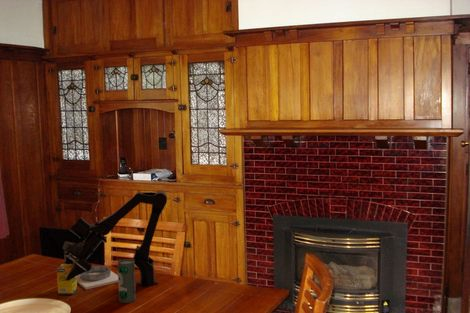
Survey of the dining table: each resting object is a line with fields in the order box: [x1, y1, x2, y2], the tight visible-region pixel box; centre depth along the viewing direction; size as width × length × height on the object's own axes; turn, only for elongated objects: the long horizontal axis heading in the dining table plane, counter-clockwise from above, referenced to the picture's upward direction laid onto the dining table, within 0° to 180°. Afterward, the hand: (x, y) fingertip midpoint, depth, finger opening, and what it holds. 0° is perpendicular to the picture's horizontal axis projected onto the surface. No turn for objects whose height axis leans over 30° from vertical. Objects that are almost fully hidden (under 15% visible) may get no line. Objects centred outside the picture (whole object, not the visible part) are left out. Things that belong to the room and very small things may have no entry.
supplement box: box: [56, 263, 78, 296], centre depth 208 cm, size 6×6×11 cm
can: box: [117, 259, 137, 304], centre depth 199 cm, size 6×6×15 cm
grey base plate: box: [76, 270, 118, 290], centre depth 225 cm, size 22×16×1 cm
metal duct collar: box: [80, 265, 112, 281], centre depth 225 cm, size 12×12×2 cm
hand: (63, 277), depth 207 cm, fingers closed on supplement box, 8 cm apart
